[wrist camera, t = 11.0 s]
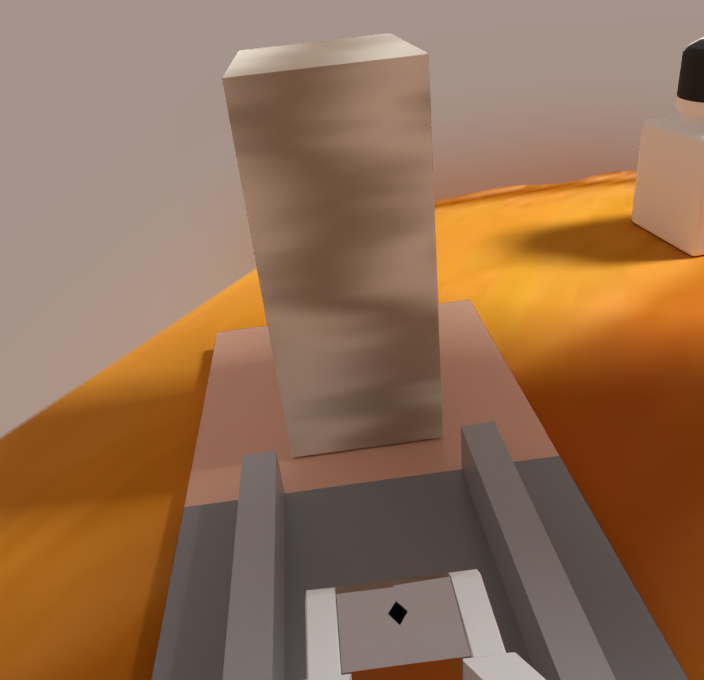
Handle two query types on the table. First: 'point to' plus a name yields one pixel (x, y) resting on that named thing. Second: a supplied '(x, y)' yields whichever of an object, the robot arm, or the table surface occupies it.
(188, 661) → the chute
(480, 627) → the robot arm
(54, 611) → the table surface
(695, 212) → the medicine bottle
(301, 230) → the block
